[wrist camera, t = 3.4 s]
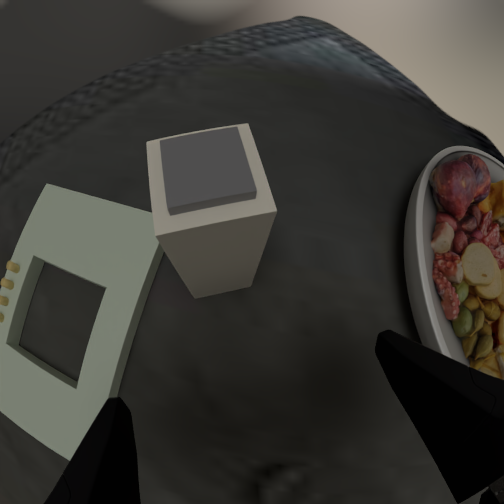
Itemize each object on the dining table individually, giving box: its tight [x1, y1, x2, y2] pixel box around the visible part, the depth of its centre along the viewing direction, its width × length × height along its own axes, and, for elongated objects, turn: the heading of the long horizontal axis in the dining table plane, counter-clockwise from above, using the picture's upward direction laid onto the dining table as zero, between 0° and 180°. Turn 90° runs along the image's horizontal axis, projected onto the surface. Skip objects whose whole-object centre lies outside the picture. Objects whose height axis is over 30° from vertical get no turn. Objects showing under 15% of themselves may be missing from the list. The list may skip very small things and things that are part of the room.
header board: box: [0, 184, 164, 460], centre depth 19 cm, size 22×14×3 cm, turn 164°
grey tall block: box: [147, 124, 277, 299], centre depth 17 cm, size 5×4×14 cm
